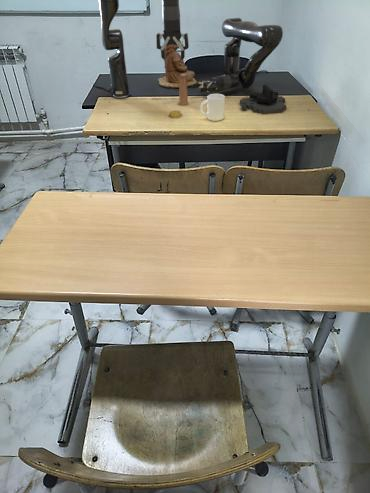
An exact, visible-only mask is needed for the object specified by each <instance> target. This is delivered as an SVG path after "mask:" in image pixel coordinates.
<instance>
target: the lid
mask: <svg viewBox="0 0 370 493" xmlns="http://www.w3.org/2000/svg"><path fill="white" fill-rule="evenodd" d="M181 116H182V112H181V110H178V109H177V110H171V111H170V112H169V117H171V118H180V117H181Z"/></svg>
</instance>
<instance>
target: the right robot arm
mask: <svg viewBox="0 0 370 493" xmlns="http://www.w3.org/2000/svg"><path fill="white" fill-rule="evenodd" d="M221 31H222V32H221V33H222V34H223V36H224V37H225V38H231V40H230V41H228V42H226V43H225V44H224V52H223V73H222V74H223V75H218V76H213V77H212V78H211V80H207V79H203V80H196V81H197V82H196V83H195V84H192V86H191V88H192V89H198V88H199V92H200V93H206V92H207V93H209V94H212V93H217V92H222V91H226V90H229V89H234V88H237V87H238V86H239V85H241V87H242V88H243V89H249V88H251V87H252V86H253V84H254V83H255V80H256V78H257V77H256V76H257V74H260V73H267V74H269V71H268V70H265V69H263V70H260V68H261V66H262V65H263V63H264V62H265V61H266V59H267V58H268V57H269V56H270V55H271V54H272V53H273V52H274V51H275V49H277V47H278V46H279V45H280V44H281V42H282V41H283V40H282V39H283V38H284V37H283V36H284V31H283V27H282V26H281V25H278V24H264V25H263V24H262V25H259V24H258V23H257V22H254V21H252V20H251V21H249V20H242V19H241V17H230V18H226V19H224V20H223V21H222V24H221ZM242 41H243V42H247V43H254V44H256V45H257V46H259V47H261V48H259V49H258V50H257V51H255V52H254V53H253V54H252V55H251V56H250V57H249V59H248V60H247V62H246V64H245V66H244V68H241V69H240V55H241V46H242Z"/></svg>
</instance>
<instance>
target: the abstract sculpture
mask: <svg viewBox="0 0 370 493" xmlns="http://www.w3.org/2000/svg"><path fill="white" fill-rule="evenodd" d="M285 103H286V98H285V97H284V96H282V95H280V96H279V92H278V91H274V90H273V89H272V88H271V87H270V86H268V85H267V84H263V85H262V92H261V93H259V92H251V93H249V96H248V97H244V98H243V97H242V98H241V99H239V104H240V105H241V106H240V108H241V110H242V111H243V112H244V111H247V109H248V110H252V111H253V112H254V113H259V114H263V115H264V114H265V115H266V114H276V113H283V111H285V110H287V105H286V104H285Z"/></svg>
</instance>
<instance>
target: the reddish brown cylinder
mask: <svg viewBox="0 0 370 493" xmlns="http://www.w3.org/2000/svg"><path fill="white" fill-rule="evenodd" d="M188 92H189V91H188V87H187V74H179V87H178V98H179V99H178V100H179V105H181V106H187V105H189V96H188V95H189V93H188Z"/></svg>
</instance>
